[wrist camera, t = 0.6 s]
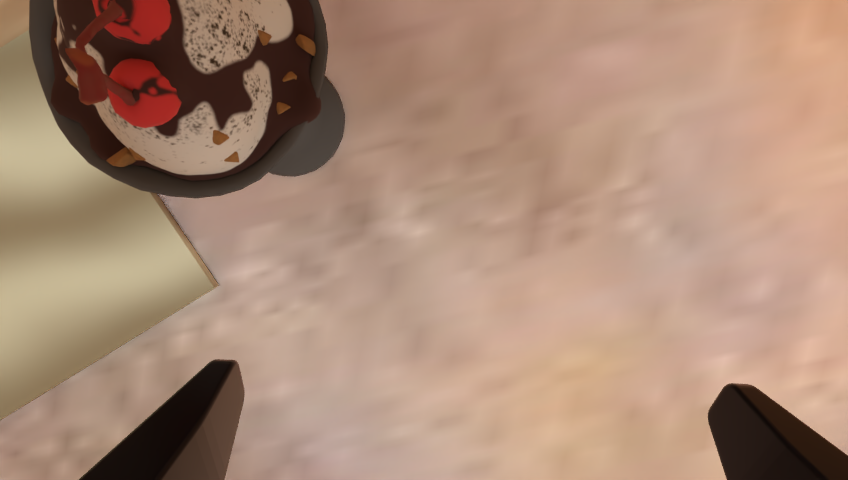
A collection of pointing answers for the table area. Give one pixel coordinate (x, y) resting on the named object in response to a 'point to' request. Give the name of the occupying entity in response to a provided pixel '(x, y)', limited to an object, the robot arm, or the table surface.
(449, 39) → the table surface
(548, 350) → the table surface
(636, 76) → the table surface
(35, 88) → the corner tray
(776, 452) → the robot arm
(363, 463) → the table surface
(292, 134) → the sundae
